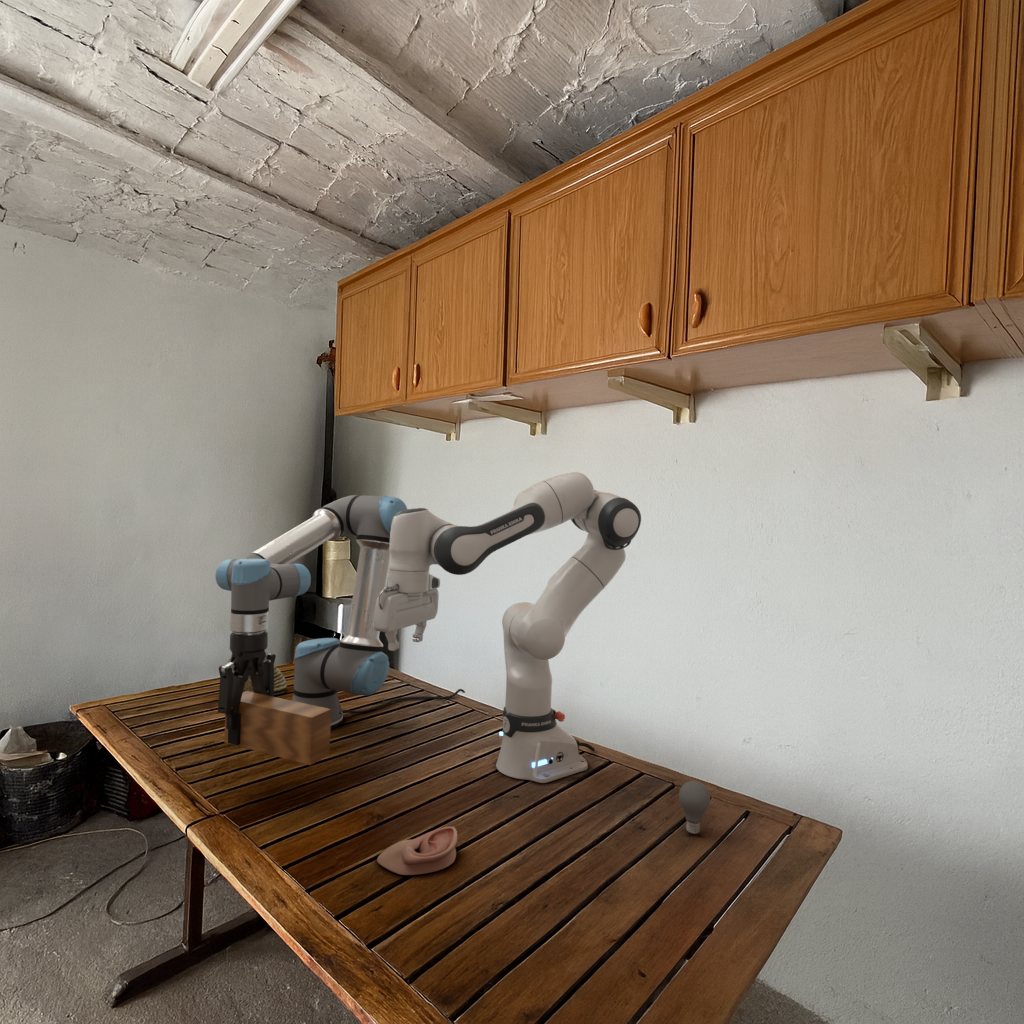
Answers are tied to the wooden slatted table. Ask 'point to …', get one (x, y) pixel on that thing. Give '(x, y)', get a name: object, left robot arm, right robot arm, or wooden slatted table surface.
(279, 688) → the fossil
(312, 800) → the wooden slatted table surface
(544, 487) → the right robot arm
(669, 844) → the wooden slatted table surface
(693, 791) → the light bulb
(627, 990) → the wooden slatted table surface
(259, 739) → the bar
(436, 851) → the anatomical model
